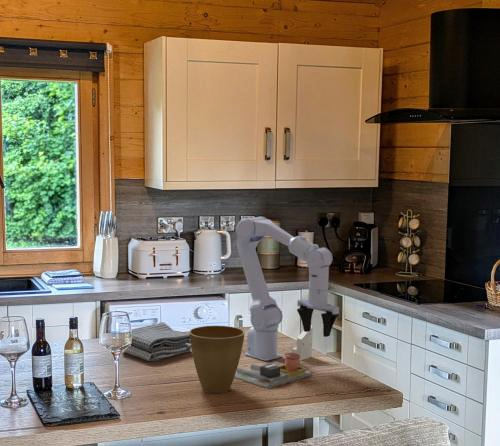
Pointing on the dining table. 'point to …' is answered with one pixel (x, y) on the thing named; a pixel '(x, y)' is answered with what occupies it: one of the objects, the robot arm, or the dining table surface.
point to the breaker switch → (270, 370)
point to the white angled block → (304, 345)
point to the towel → (158, 342)
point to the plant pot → (216, 355)
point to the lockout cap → (291, 361)
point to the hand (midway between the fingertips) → (316, 333)
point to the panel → (255, 378)
